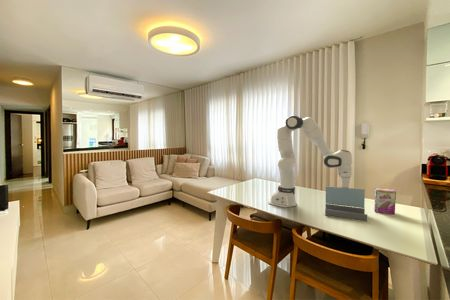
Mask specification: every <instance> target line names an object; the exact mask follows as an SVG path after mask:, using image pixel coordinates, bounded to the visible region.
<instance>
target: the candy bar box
mask: <svg viewBox="0 0 450 300" xmlns="http://www.w3.org/2000/svg"><path fill="white" fill-rule="evenodd" d="M396 196H397V192H396V190H395V189H387V188H377V187H376V188H375V189H374V208H373V209H374V213H382V214H389V215H395V213H396V198H397V197H396Z"/></svg>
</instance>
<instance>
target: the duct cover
mask: <svg viewBox="0 0 450 300" xmlns="http://www.w3.org/2000/svg"><path fill="white" fill-rule="evenodd" d="M365 191H366V190H365V189H361V188H351V187H349V188H343V187H342V186H341V187H339V186H328V185H326V186H325V205H326V204H331V205H339V206H348V207H356V208H364V209H365V201H366V200H365V194H366V193H365Z"/></svg>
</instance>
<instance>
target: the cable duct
mask: <svg viewBox="0 0 450 300" xmlns="http://www.w3.org/2000/svg"><path fill="white" fill-rule="evenodd" d="M324 209H325V212H324V216H326V217H333V218H340V219H346V220H353V221H359V222H366V223H367V222H368V214H367V213H365V212H366V211H365V207H364V208H360V207H351V206H343V205H335V204H326V203H325V208H324Z"/></svg>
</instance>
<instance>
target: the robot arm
mask: <svg viewBox="0 0 450 300" xmlns="http://www.w3.org/2000/svg"><path fill="white" fill-rule="evenodd" d="M298 129H300V130H302V132H303V133H304V135H305V136H306V138H307V139H308V140H309V141H310V142H311V143H313V144H314V145H315V146H316V147H317V148H318V149H319V151H320V153H321V154H322V156H323V164H324V165H325V166H326V167H327V168H337V175H338V176H339V178H340V184H341V188H350V187H349V186H350V183H351V182H350V180H351V177H352V175H353V172H352V171H353V167H352V164H353V155H352V153H351V151H349V150H346V149H339V150H337V151H335V152H333V151H331V149H330V148H329V146H328V145H327V142H326V141H325V138H324V133H323V131H322V129H321V127H320V126H319V124H318V123H317V122H316V121H315V120H314V119H313V117H311V116H307V117H305V118H302V117H299V116H298V115H295V114H294V115H290V116H288V117H287V118H286V119H285V124H284V125H281V126H279V127H278V128H277V134H276V135H277V137H276V139H277V146H278V147H277V148H278V152H279V154H280V159H279V160H278V161H277V167H278V172H279V178H280V180H279V181H280V182H279V183H280V184H279V185H277V190H276V191H275V192H274V193H273V194H271V197H270V199H268V201H267V203H268V204H269V205H273V206H277V207H280V208H281V207H283V208H289V207H295V206H297V204H298V203H297V200H296V187H295V186H296V185H295V174H294V168H295V166H296V163H297V161H296V156H295V152H294V148H293V147H294V146H293V137H292V132H293V131H296V130H298Z"/></svg>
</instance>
